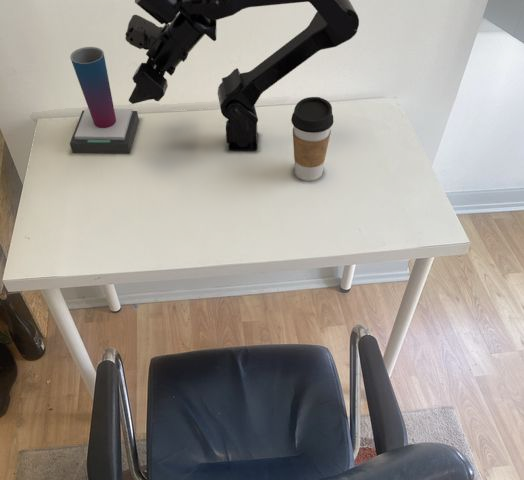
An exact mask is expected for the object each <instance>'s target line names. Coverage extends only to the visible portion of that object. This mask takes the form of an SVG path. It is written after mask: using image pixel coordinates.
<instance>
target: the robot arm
mask: <svg viewBox="0 0 524 480" xmlns="http://www.w3.org/2000/svg"><path fill="white" fill-rule="evenodd" d="M134 3H135V4H136V5H137V6H138V7H139V8H141V9H142V10H143V11H144V12H145V13H147V14H148V15H149V16H151V17H152V18H153V19H154V20H155V21H157V22H158V23H159V24H161V25H163V26H158V25H157V24H155V23H154V22H152V21H151V20H148V19H146V18H144V17H142V16H140V15H138V14H133V15H132V16H131V18H130V19H129V21H128V25H127V30H126V31H125V41H126V42H127V43H128V44H129V45H131V46H133V47H135V48H137V49H139V50H146V53H145V56H147V60H146V62H141V63H140V64H139V66H138V67H137V68H136V70H135V71H134V74H133V75H132V81H133V83H134V84H135V86H134V88H133V90H132V92H131V94H130V96H129V98H128V102H129V103H131V104H132V105H134V104H138V103H142V102H146V101H150V100H151V101H152V100H154V101H155V102H160V100H162V98H163V97H164V96H165V94H166V91H167V89H168V87H169V86H168V79H166V78H165V74H166V73H167V74H168V75H169V76H172V75H174V73H175V72H176V68H177V67H178V66H179V65H180V63H181V62H183V63H184V62H185V61H186V60H187V58H188V56H189V54H190V53H191V51H192V50H193V49H194V47H196V46H197V44H198V43H199V42H200V41H201V40H202V39H203V38H204V36H207V37H208V38H209V39H211V41H213V42H216V41H217V31H218V30H217V22H218V20H221V19H225V18H228V17H231V16H232V17H233V16H234V15H236V14H237V13H239V12H241V11H243V10H245V9H248V8H257V7H267V6H268V7H269V6H277V5H287V4H289V5H290V4H298V3H309V4H311V6H313V8H314V9H315V10H316V13H315V14H314V16H313V18H312V19H311V21H310V22H309V24H308V25H307V27H305V28H304V29H303V30H302V31H301V32H299V33H298V34H296V35H295V36H294V37H293V38H292V39H290V40H289V41H288V42H286V43H285V44H283V46H281V47H280V48H278V49H277V50H276V51H275V52H273V53H272V54H271V55H269V56H268V57H267V58H266V59H264V60H263V61H261V62H260V63H259V64H258V65H256V66H255V67H254V68H252V69H251V70H250V71H246V72H241V71H240V70H239V68H237V67H236V68H235V69H234V70H232V71H231V72H230V74H228V75H227V76H224V77H222V78H221V81H222V82H221V83H220V84H219V85H218V87H217V97H218V103H219V108H220V113H221V115H222V116H223V117H224V118H225V119H227V120H226V122H225V137H226V138H225V139H226V144H228V149H227V150H228V151H230V152H257V151H258V145H259V133H258V122H259V117H258V114H257V110H256V106H255V105H256V104H257V102H258V100H259V98H260V97H261V95H263V93H264V92H266V91H267V90H268V89H270V88H271V87H273V86H274V85H275V84H276V83H277V82H279V81H280V80H282V79H283V78H284V77H286V76H287V75H289V74H290V73H291V72H292V71H294V70H295V69H297V68H298V67H299V66H300V65H302V64H303V63H305V62H306V61H307V60H309V59H310V58H311V57H313V56H314V55H315V54H317V53H318V52H319V51H320V52H321V51H322V50H327V49H331V48H336V47H339V46H340V45H342V44H344V43H346V42H348V41H350V40H351V39H353V37H355V36H356V34H357V33H358V29H359V25H360V18H359V15H358V12H357V11H356V10H355V7H354V6H353V4H352V2H351V1H350V0H134Z"/></svg>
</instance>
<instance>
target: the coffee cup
mask: <svg viewBox="0 0 524 480" xmlns="http://www.w3.org/2000/svg"><path fill="white" fill-rule="evenodd" d="M290 119H291V120H290V121H291V124H292V125H293V127H292V143H293V144H292V145H293V159H294V175H295V176H296V177H297V178H298V179H300V180H302V181H306V182H311V181H316V180H318V179H320V178H321V176H322V174H323V170H324V165H325V160H326V156H327V151H328V146H329V143H330V137H331V131H332V130H331V128H332V126H333V125H334V123H335V122H334V115H333V106H332V104H331V102H330V101H328V100H327V99H325V98H323V97H319V96H309V97H305V98H303V99H301V100H300V101H298V102H297V103H296V104H295V106H294V109H293V113H292V115H291V118H290Z"/></svg>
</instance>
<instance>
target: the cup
mask: <svg viewBox="0 0 524 480" xmlns="http://www.w3.org/2000/svg"><path fill="white" fill-rule="evenodd" d="M69 59H70V61H71V65H72V66H73V70H74V73H75V75H76V78H77V80H78V83H79V86H80V89H81V92H82V94H83V97H84V100H85V103H86V105H87V108H89V111H90V114H91V117H92V119H93V122H94V125H95V126H97V127H99V128H108V127H111V126H113V125H114V124H115V123H116V117H115V112H114V109H115V106H114V102H113V96H112V91H111V85H110V80H109V75H108V69H107V68H108V67H107V64H106V58H105V52H104V51H103V49H101V48H99V47H96V46H84V47H80V48H77V49H75V50H73V52H71V53H70V58H69Z"/></svg>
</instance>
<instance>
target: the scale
mask: <svg viewBox="0 0 524 480" xmlns="http://www.w3.org/2000/svg"><path fill="white" fill-rule="evenodd" d="M114 112H115V117H116V123H115V124H114V125H113V126H111V127H108V128H99V127H97V126H95V125H94V122H93V119H92V117H91V114H90V111H89V108H88V107H87V108H84V109H83V110H81V113H80V116H79V118H78V121H77V124H76V126H75V129H74V131H73V134H72V137H71V139H70V141H69V146H70V149H71V152H72V153H73V154H129V155H130V154H131V150H132V148H133V147H132V146H133V143H134V140H135V137H136V132H137V128H138V126H139V121H140V118H139V114H138V110H133V108H114Z"/></svg>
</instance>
